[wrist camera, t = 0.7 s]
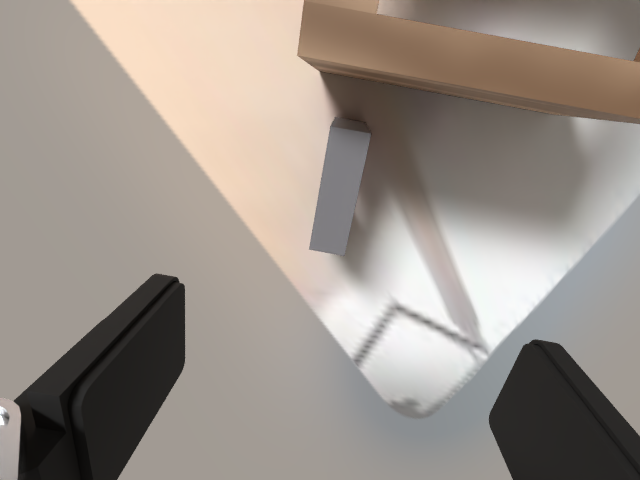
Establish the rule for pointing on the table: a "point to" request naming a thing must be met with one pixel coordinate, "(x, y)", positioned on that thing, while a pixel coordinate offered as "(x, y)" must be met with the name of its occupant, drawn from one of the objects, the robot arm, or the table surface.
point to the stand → (466, 63)
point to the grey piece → (339, 185)
